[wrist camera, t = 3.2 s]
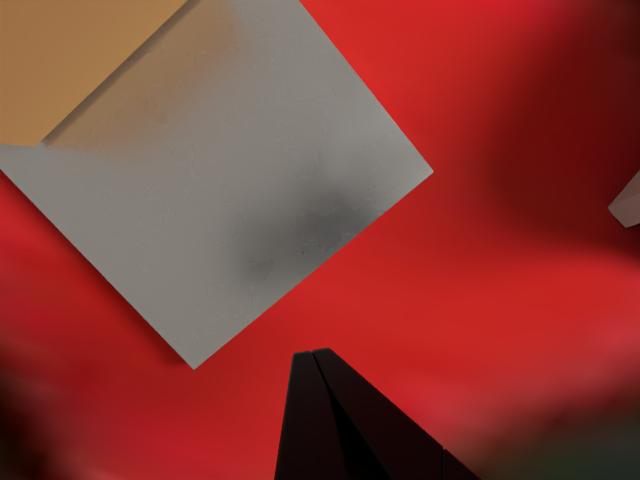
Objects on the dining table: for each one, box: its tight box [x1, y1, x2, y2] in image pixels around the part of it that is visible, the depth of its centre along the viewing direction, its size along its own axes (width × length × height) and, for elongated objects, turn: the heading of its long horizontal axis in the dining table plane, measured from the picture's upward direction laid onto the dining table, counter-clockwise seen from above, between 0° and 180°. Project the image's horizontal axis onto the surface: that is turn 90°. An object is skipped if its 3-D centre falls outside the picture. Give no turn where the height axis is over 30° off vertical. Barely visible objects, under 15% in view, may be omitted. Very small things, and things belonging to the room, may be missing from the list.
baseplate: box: [0, 0, 434, 370], centre depth 15 cm, size 24×14×7 cm, turn 40°
